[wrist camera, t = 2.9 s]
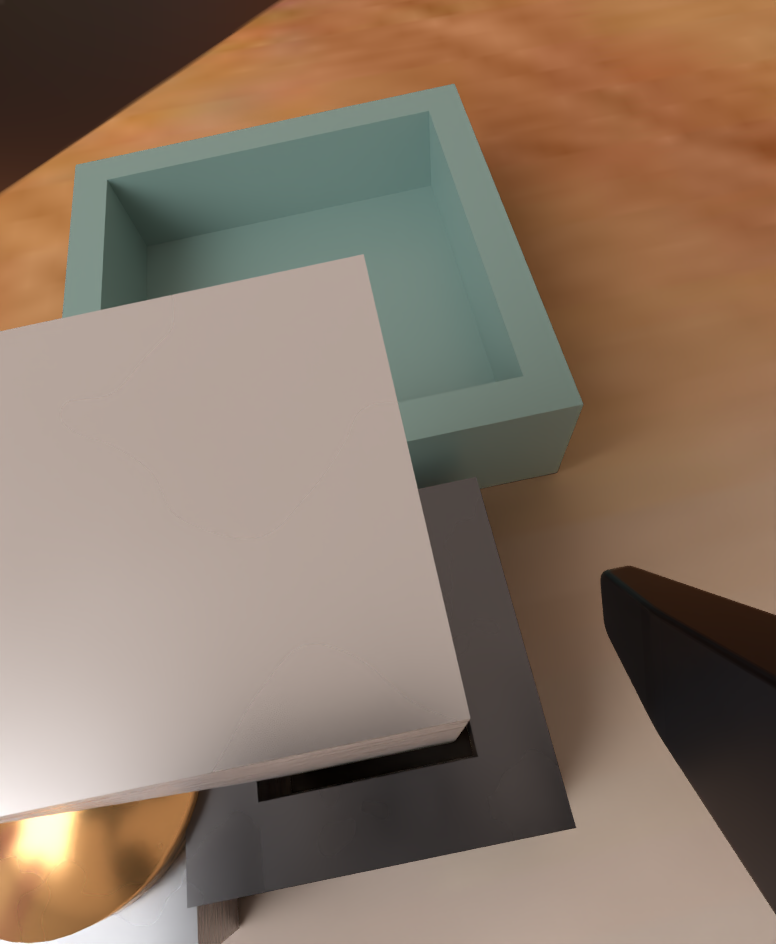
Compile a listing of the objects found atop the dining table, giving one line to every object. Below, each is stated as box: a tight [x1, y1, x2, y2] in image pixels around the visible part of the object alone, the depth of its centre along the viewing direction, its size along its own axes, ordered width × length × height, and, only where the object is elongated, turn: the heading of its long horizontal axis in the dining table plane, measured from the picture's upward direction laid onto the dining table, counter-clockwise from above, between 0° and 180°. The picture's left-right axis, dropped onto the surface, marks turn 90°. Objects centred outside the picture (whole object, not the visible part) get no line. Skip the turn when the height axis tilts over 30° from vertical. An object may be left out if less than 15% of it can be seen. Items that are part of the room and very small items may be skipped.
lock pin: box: [0, 254, 471, 823], centre depth 10 cm, size 4×4×13 cm
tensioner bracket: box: [0, 477, 576, 944], centre depth 14 cm, size 9×14×4 cm, turn 101°
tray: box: [62, 84, 583, 489], centre depth 20 cm, size 14×14×4 cm
